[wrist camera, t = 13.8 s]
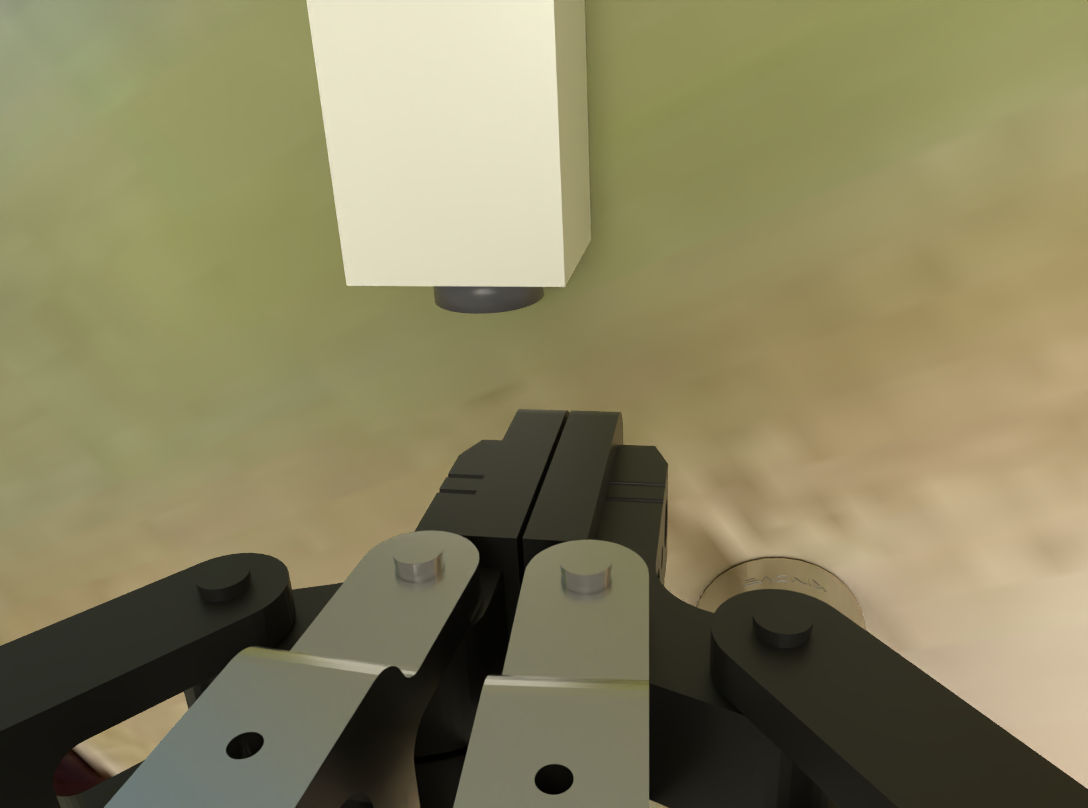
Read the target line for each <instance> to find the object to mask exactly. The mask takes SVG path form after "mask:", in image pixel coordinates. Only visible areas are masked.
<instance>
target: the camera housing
mask: <svg viewBox="0 0 1088 808" xmlns="http://www.w3.org/2000/svg"><path fill="white" fill-rule="evenodd" d="M307 7H308V14H309V21H310V29H311V36H312V43H313V50H314V57H315V64H316V71H317V78H318V85H319V92H320V100H321V107H322V114H323V121H324V128H325V135H326V142H327V149H328V156H329V163H330V171H331V178H332V185H333V192H334V199H335V206H336V213H337V220H338V227H339V234H340V242H341V249H342V256H343V263H344V270H345V277H346V284H347V286H433V287H434V297H435V303H436V305H438V306H439V307H441V308H443V309H445V310H449V311H454V312H460V313H475V314H477V313H497V312H505V311H511V310H516V309H520V308H523V307H527V306H530V305H532V304H534V303H536V302H538V301H539V300H541V299H542V297H543V295H544V292H543V287H565V286H566V284H567V282H568V281H569V279H570V277H571V275H572V274H573V272H574V270H575V268H576V266H577V265H578V263H579V261H580V259H581V258H582V256H583V254H584V252H585V250H586V249H587V247H588V245H589V243H590V242H591V211H590V174H589V137H588V100H587V62H586V25H585V0H307Z"/></svg>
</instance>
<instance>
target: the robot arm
mask: <svg viewBox="0 0 1088 808" xmlns="http://www.w3.org/2000/svg"><path fill="white" fill-rule="evenodd" d="M667 503H668V463H667V462H666V461H665V459H664V458H663V456H662V455H661V454H660V452H659V451H658V450H657V448H656V447H655V446H636V445H623V422H622V414H621V412H600V411H571V412H570V413H569V411H563V410H531V409H519V410H518V411H517V413H516V415H515V417H514V419H513V421H512V422H511V424H510V426H509V428H508V430H507V432H506V434H505V436H504V438H503V440H502V441H500V440H481V441H480V442H478V443H477V444H475V445H474V446H472V447H471V448H469V449H468V450H466V451H465V452H463V453H462V454H460V455H459V457H458V458H457V460H456V462H455V463H454V465H453V467H452V469H451V470H450V472H449V474H448V477H446V479H445V480H444V482H443V484H442V486H441V487H440V492H439V493H437V494H436V496H435V497H434V499H433V501H432V503H431V504H430V506H429V508H428V509H427V511H426V513H425V514H424V516H423V518H422V520H421V521H420V523H419V525H418V526H417V528H416V530H415V532H410V533H406V534H402V535H398V536H395V537H392V538H390V539H388V540H386V541H383V542H382V543H380V544H378V545H376V546H375V547H374V548H372V549H371V550H370V551H369V552H368V553H367V554H366V555H365V556H364V557H363V559H362V560H361V561H360V562H359V564H358V565H357V566H356V567H355V569H354V570H353V571H352V573H351V574H350V575H349V576H348V578H347V579H346V580H345V581H344V582H343V583H338V584H331V585H324V586H316V587H309V588H302V589H294V590H292V587H291V582H290V577H289V572H288V570H287V567H286V566H285V565H284V564H283V562H281V561H280V560H278V559H277V558H274V557H272V556H269V555H264V554H257V553H239V554H231V555H226V556H221V557H217V558H214V559H210V560H208V561H205V562H202V563H200V564H197V565H195V566H192V567H190V568H188V569H185V570H183V571H180V572H178V573H175V574H173V575H171V576H168V577H166V578H163V579H161V580H159V581H156V582H154V583H151V584H149V585H146V586H144V587H142V588H139V589H137V590H134V591H132V592H130V593H127V594H125V595H122V596H120V597H117V598H115V599H113V600H110V601H108V602H105V603H103V604H101V605H98V606H96V607H93V608H91V609H88V610H86V611H84V612H81V613H79V614H76V615H74V616H72V617H69V618H67V619H64V620H62V621H60V622H57V623H55V624H52V625H50V626H47V627H45V628H43V629H40V630H38V631H35V632H33V633H31V634H28V635H26V636H23V637H21V638H18V639H16V640H14V641H11V642H9V643H6V644H4V645H2V646H0V808H649V800H651V801H654V802H656V803H659V804H661V805H663V806H666V807H668V808H1088V789H1087V788H1085V787H1084V786H1083V785H1081V784H1080V783H1078V782H1077V781H1076V780H1074V779H1073V778H1071V777H1070V776H1069V775H1067V774H1066V773H1064V772H1063V771H1062V770H1060V769H1059V768H1057V767H1056V766H1055V765H1053V764H1052V763H1050V762H1049V761H1048V760H1046V759H1045V758H1043V757H1042V756H1041V755H1039V754H1038V753H1036V752H1035V751H1034V750H1032V749H1031V748H1029V747H1028V746H1027V745H1025V744H1024V743H1022V742H1021V741H1020V740H1018V739H1017V738H1015V737H1014V736H1013V735H1011V734H1010V733H1008V732H1007V731H1006V730H1004V729H1003V728H1002V727H1000V726H999V725H997V724H996V723H995V722H993V721H992V720H990V719H989V718H988V717H986V716H985V715H983V714H982V713H981V712H979V711H978V710H976V709H975V708H974V707H972V706H971V705H969V704H968V703H967V702H965V701H964V700H962V699H961V698H960V697H958V696H957V695H955V694H954V693H953V692H951V691H950V690H948V689H947V688H946V687H944V686H943V685H941V684H940V683H939V682H937V681H936V680H934V679H933V678H932V677H930V676H929V675H927V674H926V673H925V672H923V671H922V670H920V669H919V668H918V667H916V666H915V665H913V664H912V663H911V662H909V661H908V660H906V659H905V658H904V657H902V656H901V655H899V654H898V653H897V652H895V651H894V650H892V649H891V648H890V647H888V646H887V645H885V644H884V643H883V642H881V641H880V640H878V639H877V638H876V637H874V636H873V635H871V634H870V633H869V632H867V631H866V629H865V624H864V620H863V615H862V612H861V609H860V607H859V605H858V602H857V600H856V598H855V597H854V595H853V594H852V593H851V591H850V590H849V589H848V587H847V586H846V585H845V584H844V583H842V582H841V581H840V580H839V579H838V578H836V577H835V576H834V575H833V574H831V573H829V572H827V571H825V570H824V569H822V568H820V567H818V566H815V565H812V564H809V563H806V562H803V561H800V560H793V559H786V558H764V559H759V560H754V561H750V562H746V563H743V564H741V565H738V566H736V567H733V568H731V569H729V570H728V571H726V572H725V573H723V574H722V575H720V576H719V577H717V578H716V579H715V580H714V581H713V582H712V583H711V585H710V586H709V587H708V588H707V589H706V590H705V592H704V594H703V596H702V597H701V599H700V601H699V603H698V607H694V606H692V605H690V604H687V603H685V602H683V601H681V600H680V599H678V598H677V597H675V596H674V595H672V594H671V593H670V592H669V591H668V590H667V589H666V588H665V587H664V577H665V570H666V560H667ZM183 691H184V694H185V697H186V701H187V705H188V709H189V710H188V711H187V712H186V713H185V714H184V715H183V717H182V718H181V719H180V720H179V721H178V722H177V723H176V725H175V726H174V727H173V728H172V729H171V730H170V732H169V733H168V734H167V735H166V736H165V737H164V739H163V740H162V741H161V742H160V743H159V744H158V745H157V747H156V748H155V749H154V750H153V751H152V752H151V754H150V755H149V756H148V757H147V758H146V759H145V760H144V761H142V762H140V763H138V764H136V765H134V766H133V767H131V768H129V769H127V770H125V771H123V772H121V773H119V774H117V775H116V776H114V777H112V778H110V779H108V780H106V781H104V782H102V783H100V784H98V785H97V786H95V787H93V788H91V789H89V790H87V791H85V792H83V793H81V794H78V795H75V796H69V797H60V796H56V794H55V791H54V787H53V776H54V772H55V770H56V768H57V766H58V764H59V762H60V761H61V759H62V758H63V757H64V756H65V755H66V754H67V753H68V752H69V751H70V750H71V749H72V748H73V747H75V746H76V745H78V744H79V743H81V742H83V741H85V740H87V739H89V738H91V737H93V736H95V735H97V734H99V733H101V732H103V731H105V730H107V729H109V728H111V727H113V726H115V725H117V724H119V723H121V722H123V721H125V720H127V719H129V718H131V717H133V716H135V715H137V714H139V713H141V712H143V711H145V710H147V709H149V708H151V707H153V706H155V705H157V704H159V703H161V702H163V701H165V700H167V699H169V698H171V697H173V696H175V695H177V694H179V693H181V692H183Z"/></svg>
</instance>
